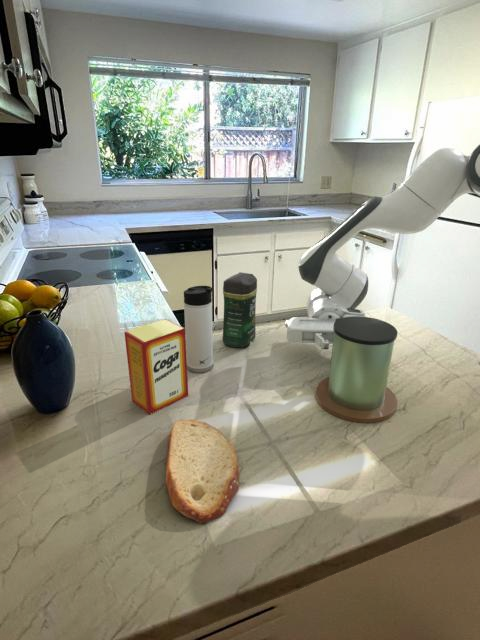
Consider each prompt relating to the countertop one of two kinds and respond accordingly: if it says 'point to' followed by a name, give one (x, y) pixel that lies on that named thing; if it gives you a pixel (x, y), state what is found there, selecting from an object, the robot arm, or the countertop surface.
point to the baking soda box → (157, 364)
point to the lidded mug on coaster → (359, 371)
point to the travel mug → (198, 328)
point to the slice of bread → (200, 470)
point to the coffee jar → (239, 309)
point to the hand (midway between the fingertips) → (335, 346)
